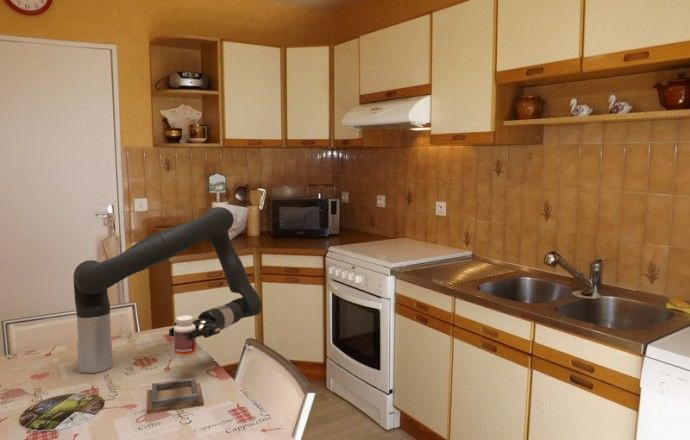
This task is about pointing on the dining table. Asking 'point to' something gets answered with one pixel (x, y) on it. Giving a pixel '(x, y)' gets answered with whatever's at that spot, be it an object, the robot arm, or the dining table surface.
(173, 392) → the grey shallow rectangular tray
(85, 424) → the dining table surface
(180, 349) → the pill bottle
